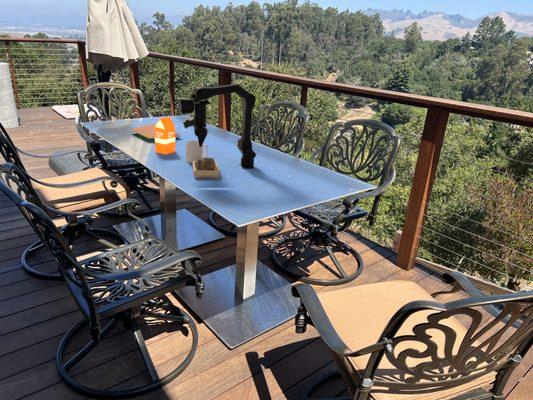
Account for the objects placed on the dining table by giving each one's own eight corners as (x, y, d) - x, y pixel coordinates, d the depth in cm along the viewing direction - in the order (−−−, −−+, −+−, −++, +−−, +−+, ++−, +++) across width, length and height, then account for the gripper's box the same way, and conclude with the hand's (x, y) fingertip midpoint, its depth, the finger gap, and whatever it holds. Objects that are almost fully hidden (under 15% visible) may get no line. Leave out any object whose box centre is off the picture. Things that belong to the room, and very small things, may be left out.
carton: (215, 168, 206) (216, 160, 204) (219, 181, 189) (220, 172, 187) (192, 168, 203) (192, 160, 201) (194, 181, 186) (194, 172, 184)
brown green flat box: (151, 144, 239) (151, 131, 236) (127, 132, 261) (127, 120, 257) (183, 140, 254) (183, 128, 251) (158, 129, 276) (158, 118, 272)
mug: (189, 165, 206) (190, 145, 202) (183, 161, 213) (183, 141, 209) (210, 163, 213) (210, 144, 208) (203, 159, 219) (204, 139, 215)
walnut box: (213, 171, 199) (213, 157, 196) (214, 174, 194) (214, 160, 191) (197, 171, 197) (197, 157, 194) (198, 174, 192) (198, 160, 189)
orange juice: (155, 151, 224) (154, 117, 217) (165, 148, 232) (164, 115, 224) (165, 154, 221) (164, 119, 214) (175, 151, 229) (175, 117, 221)
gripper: (183, 109, 197) (183, 139, 203) (183, 116, 180) (184, 149, 186) (205, 110, 199) (205, 139, 205) (207, 117, 183) (207, 149, 189)
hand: (200, 144), depth 196 cm, fingers open, 9 cm apart
